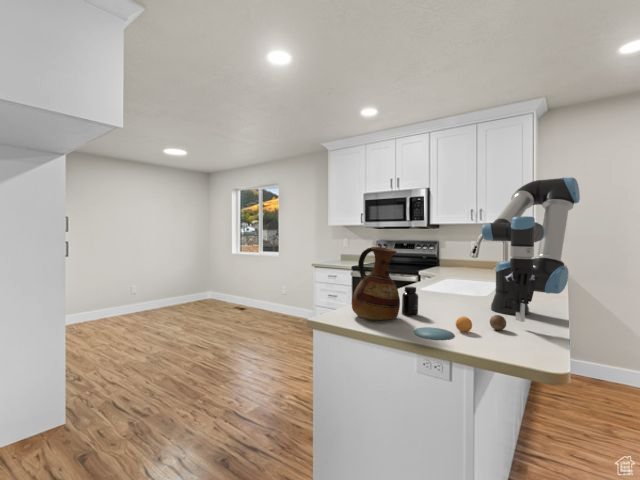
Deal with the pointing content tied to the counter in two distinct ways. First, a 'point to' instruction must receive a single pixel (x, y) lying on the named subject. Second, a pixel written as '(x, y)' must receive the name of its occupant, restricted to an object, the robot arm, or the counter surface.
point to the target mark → (433, 333)
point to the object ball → (463, 324)
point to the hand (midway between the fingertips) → (520, 320)
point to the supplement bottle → (410, 301)
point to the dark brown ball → (498, 322)
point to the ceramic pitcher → (376, 288)
